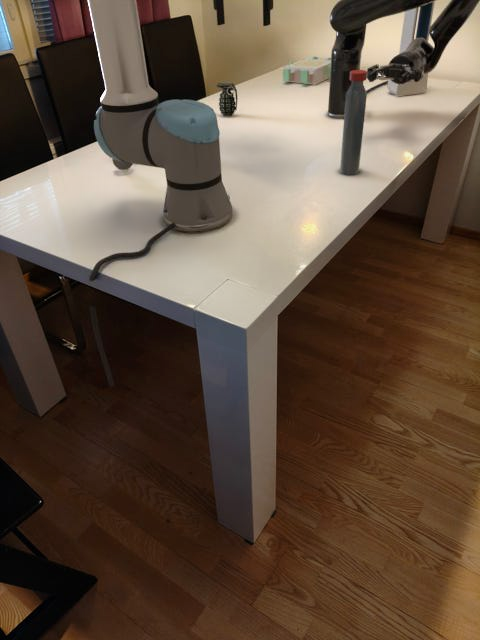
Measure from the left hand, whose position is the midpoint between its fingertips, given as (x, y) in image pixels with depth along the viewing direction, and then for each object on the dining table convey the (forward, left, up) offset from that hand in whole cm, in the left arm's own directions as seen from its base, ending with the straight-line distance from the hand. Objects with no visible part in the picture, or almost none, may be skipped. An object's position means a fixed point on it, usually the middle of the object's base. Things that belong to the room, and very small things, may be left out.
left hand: (243, 25), depth 128 cm
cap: (-12, -35, -7) cm, 38 cm away
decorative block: (+82, +13, -30) cm, 88 cm away
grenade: (+22, +19, -30) cm, 42 cm away
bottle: (-12, -35, -30) cm, 48 cm away
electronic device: (+70, -30, -30) cm, 82 cm away
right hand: (+9, -37, -13) cm, 40 cm away
